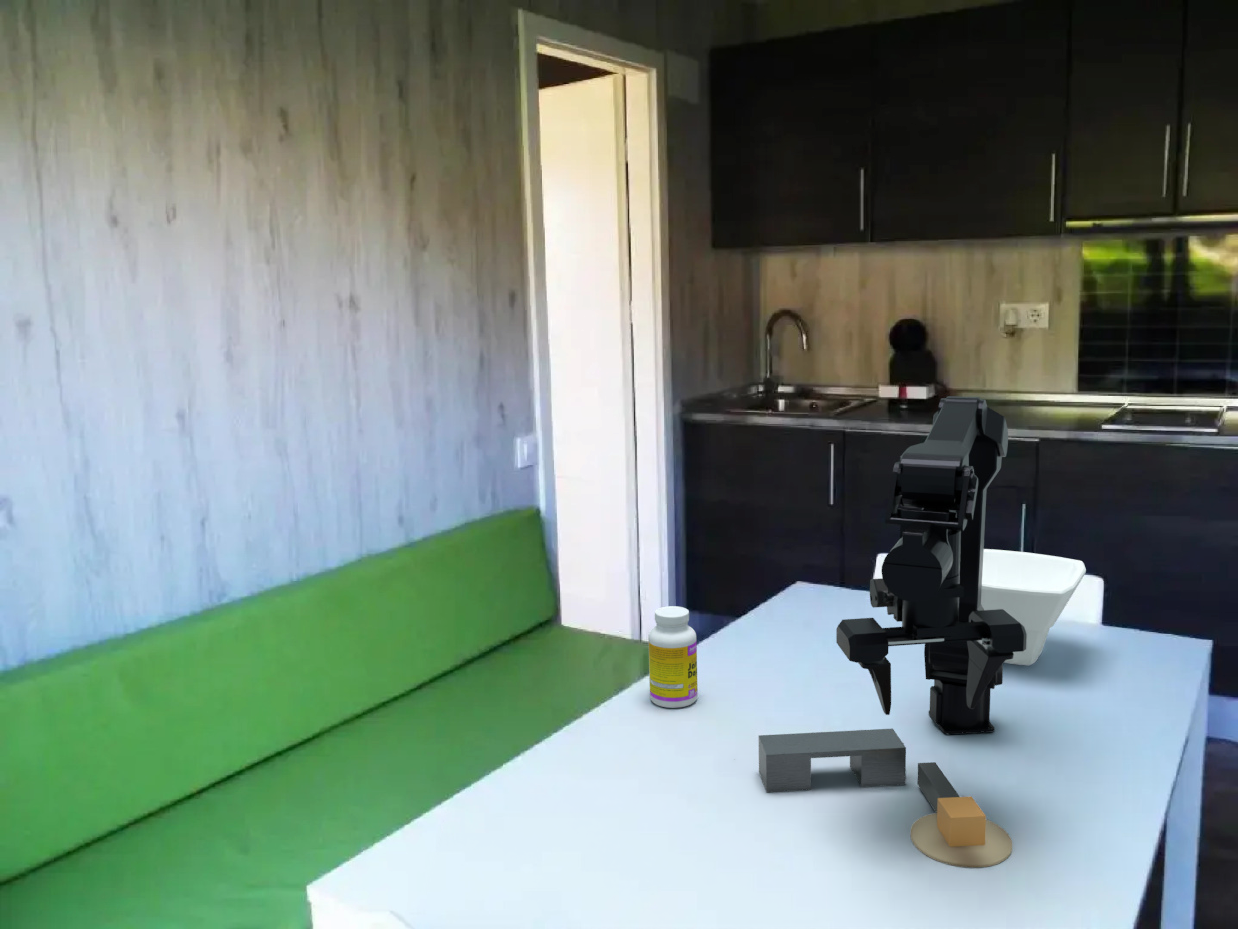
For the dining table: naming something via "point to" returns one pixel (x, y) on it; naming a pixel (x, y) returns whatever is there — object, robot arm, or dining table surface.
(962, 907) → the dining table surface
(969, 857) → the coaster
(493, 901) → the dining table surface
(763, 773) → the grey notched block
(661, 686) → the supplement bottle
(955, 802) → the tan block with bar
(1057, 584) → the bowl
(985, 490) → the robot arm
